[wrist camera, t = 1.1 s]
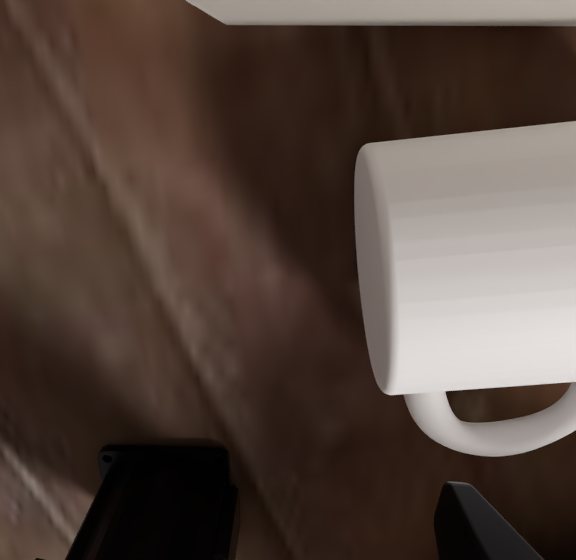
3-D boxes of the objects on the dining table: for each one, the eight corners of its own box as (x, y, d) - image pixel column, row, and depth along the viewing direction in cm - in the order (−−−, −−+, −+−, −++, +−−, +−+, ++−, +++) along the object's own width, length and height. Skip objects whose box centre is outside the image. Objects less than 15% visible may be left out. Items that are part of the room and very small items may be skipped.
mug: (349, 129, 17) (383, 172, 10) (629, 98, 17) (881, 121, 10) (363, 393, 22) (393, 550, 15) (581, 377, 22) (724, 533, 14)
